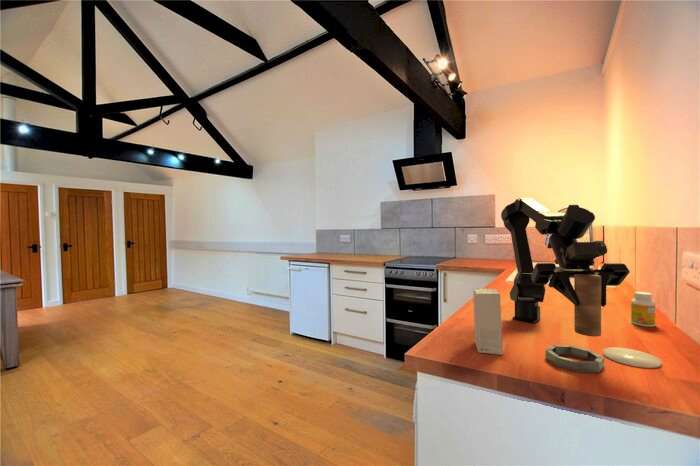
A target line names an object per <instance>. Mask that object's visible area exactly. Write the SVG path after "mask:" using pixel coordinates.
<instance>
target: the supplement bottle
mask: <svg viewBox="0 0 700 466" xmlns="http://www.w3.org/2000/svg"><path fill="white" fill-rule="evenodd" d="M633 294H634V298H633V299H631V301H630V302H631V304H630V305H631V306H630V307H631V308H630V309H631V310H630V311H631V313H630V314H631V315H630V317H631V318H630V319H631V323H632V324H633V325H636V326H640V327H648V328H649V327H650V328H651V327H655V326H656V302H654V300H652V298H653V294H652V293H651V292H647V291H646V292H645V291H634V293H633Z"/></svg>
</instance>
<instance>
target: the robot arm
mask: <svg viewBox="0 0 700 466" xmlns="http://www.w3.org/2000/svg"><path fill="white" fill-rule="evenodd" d="M500 218H501V221H502V222H503V226H504V227H505V229H507V230H508V231H509V232H510V236H511V237H510V238H511V242H512V249H513V252H514V260H515V265H516V272H517V273H516V275H515V277H514V279H513V285H512V287H511V289H510V291H509V298H510V300H511V301H512V302H514V316H512V319H513V320H515V321H516V320H517V321H522V322H527V323H531V324H532V323H533V324H534V323H536V322H538V321H541V306H539V303H544V301H545V300H544V299H545V294H546V287H545V286H546V285H547V284H548V285H547V286H548V287H549V288H553V289H555V290H556V291H558V292H559V293H560V294H561V295H562V296H563V297H565V298H567V299H568V301H570V302H571V303H572V304H573V305H575V306H578V305H579V301H578V297H577V295H576V293H575V291H574V286H573V284H572V283H571V279H574V275H575V274H593V275H599V276H601V308H602V307H603V308H604V307H606V305H607V286H609V287H617V286H619V285H621V284H622V283H623V282H624V280H625V279H626V277H627V276H628V275H629V274H630V273H631V271H630V269H629V268H628V266H627V265H626V264H625V263H621V262H620V263H619V262H618V263H617V262H614V263H613V262H607V263H606V262H604V263H603V264H602V266H601V268H600V269H595V268H591V266H593V265H594V264H595V261H594V259H596V258H599V257H603V256H605V255H606V254H607V253H608V248H607V245H606V244H605V242H604V240H594V241H578V239H581V238H584V236H585V235H586V234H587V232H588V230H589V229H590V227H591V226H592V224H593V223H594V221H595V220H596V215H595V214H594V212H592V211H590V210H588V209H587V208H584V207H580V206H579V205H578V204H569V205H568V206H567V208H566V211H565V213H564V212H561V211H552V210H549V209H548V208H547V207H545V206H543V205H542V204H541V203H539V202H537V201H536V200H535V198H532V197H518V198H517V199H515V200H514V202H511V203H509V204H508V205H506V206H505V207H504V208H503V209H502V211H501V214H500ZM531 220H532V221H533V222H534V223H535V225H534V228H535V230H536V231H538V233H539V234H540V235H541V236H543V235H544V236H546V235H550V236H549V238H548V242H547V247H546V248H547V249H551V250H552V252H553V254H554V257H555V259H554V263H553V262H537V263H536V264H535V265H534V264H533V259H532V254H531V249H530V245H529V244H530V243H529V239H528V234H527V227H528V225H529V223H530V221H531ZM556 265H558V266H556ZM567 299H566V300H567Z"/></svg>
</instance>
